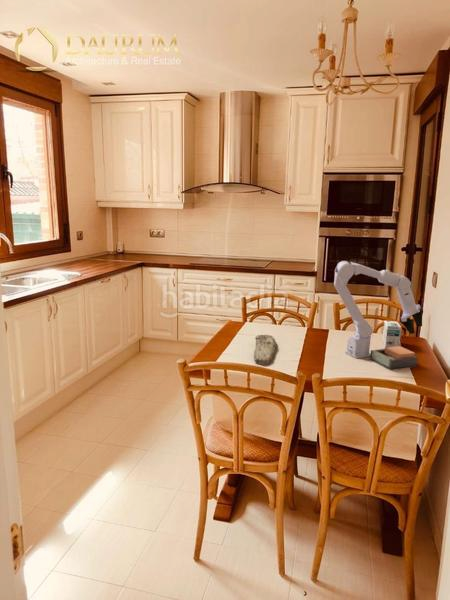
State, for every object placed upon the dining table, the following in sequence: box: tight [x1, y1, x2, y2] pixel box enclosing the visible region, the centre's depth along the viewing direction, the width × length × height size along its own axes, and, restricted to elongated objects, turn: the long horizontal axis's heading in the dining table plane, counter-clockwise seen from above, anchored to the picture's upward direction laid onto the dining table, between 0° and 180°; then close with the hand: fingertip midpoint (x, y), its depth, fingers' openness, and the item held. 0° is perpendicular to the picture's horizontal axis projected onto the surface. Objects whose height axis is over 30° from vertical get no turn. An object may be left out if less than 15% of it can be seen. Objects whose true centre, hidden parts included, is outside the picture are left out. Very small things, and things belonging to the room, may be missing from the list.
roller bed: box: [369, 348, 419, 371], centre depth 186 cm, size 14×13×5 cm
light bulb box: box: [382, 320, 403, 348], centre depth 211 cm, size 11×7×11 cm, turn 168°
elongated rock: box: [253, 334, 277, 366], centre depth 196 cm, size 35×5×10 cm
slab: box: [384, 345, 416, 359], centre depth 187 cm, size 8×9×2 cm
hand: (415, 329), depth 191 cm, fingers open, 7 cm apart
